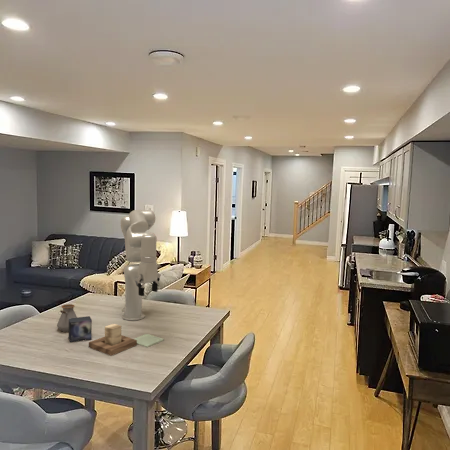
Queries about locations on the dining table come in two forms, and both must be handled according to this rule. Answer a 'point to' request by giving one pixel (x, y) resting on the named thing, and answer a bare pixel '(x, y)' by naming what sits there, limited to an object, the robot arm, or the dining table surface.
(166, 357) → the dining table surface
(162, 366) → the dining table surface
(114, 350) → the cradle board
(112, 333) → the beech block
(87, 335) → the small box
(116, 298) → the dining table surface
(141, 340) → the pad
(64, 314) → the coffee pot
